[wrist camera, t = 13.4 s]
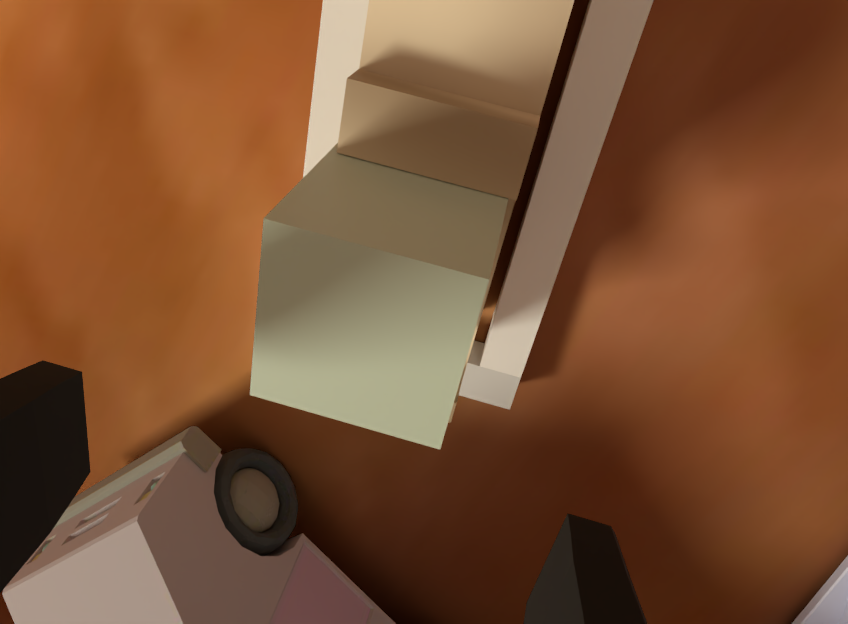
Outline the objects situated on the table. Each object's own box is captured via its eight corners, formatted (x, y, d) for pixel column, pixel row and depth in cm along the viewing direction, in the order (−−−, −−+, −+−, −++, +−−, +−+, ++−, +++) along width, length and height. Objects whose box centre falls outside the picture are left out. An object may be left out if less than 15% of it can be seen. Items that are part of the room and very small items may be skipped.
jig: (513, 385, 21) (509, 409, 20) (297, 324, 22) (283, 345, 21) (709, -182, 14) (719, -188, 13) (370, -259, 14) (353, -271, 13)
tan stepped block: (479, 307, 20) (450, 423, 16) (365, 275, 21) (304, 381, 16) (606, -129, 15) (617, -139, 10) (444, -167, 15) (384, -195, 10)
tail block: (470, 329, 15) (440, 449, 12) (321, 287, 16) (249, 395, 12) (511, 184, 14) (489, 279, 10) (341, 139, 14) (263, 218, 10)
